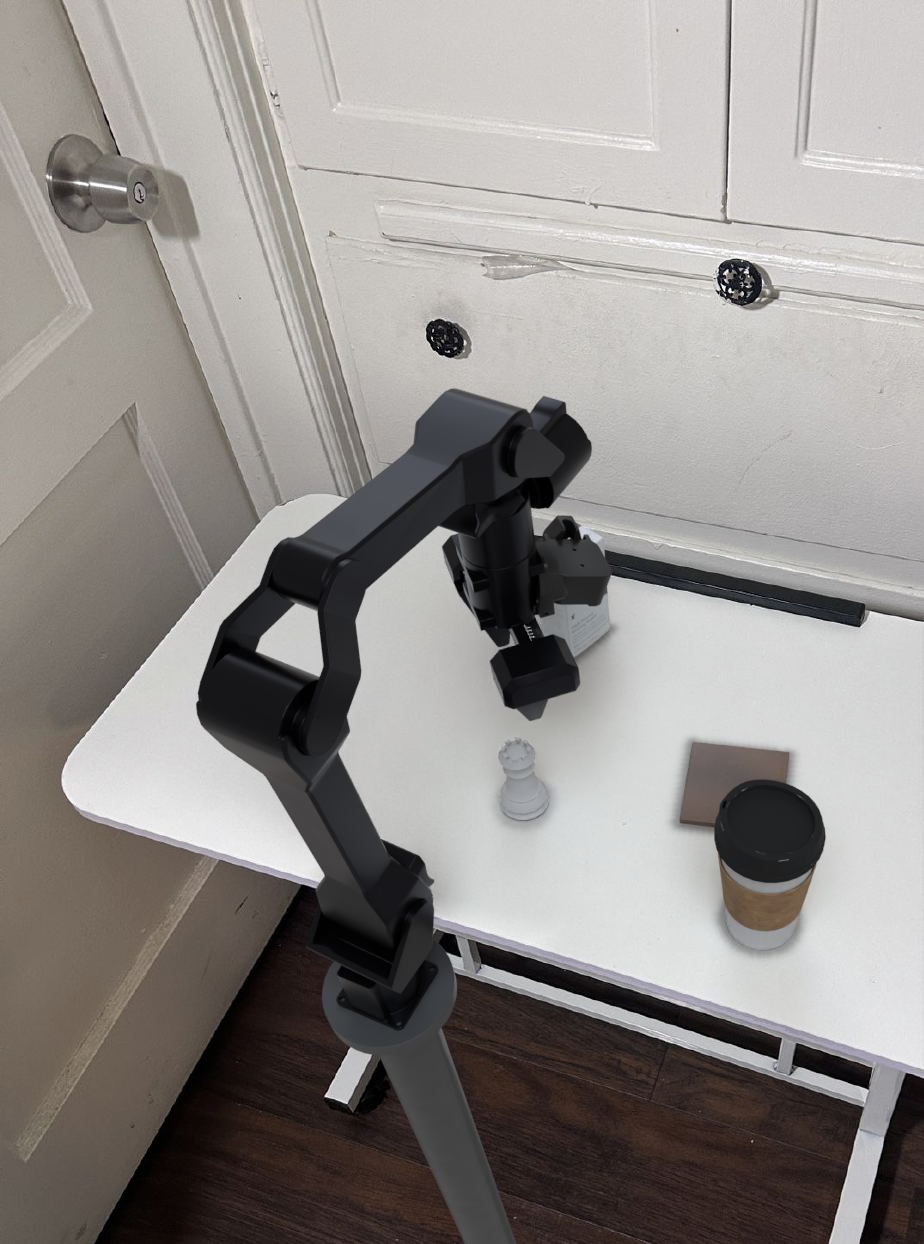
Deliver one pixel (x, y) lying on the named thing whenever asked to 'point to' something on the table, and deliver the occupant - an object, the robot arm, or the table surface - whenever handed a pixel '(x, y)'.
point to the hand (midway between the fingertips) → (518, 680)
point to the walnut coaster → (724, 777)
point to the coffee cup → (766, 859)
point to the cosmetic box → (579, 615)
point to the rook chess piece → (521, 782)
